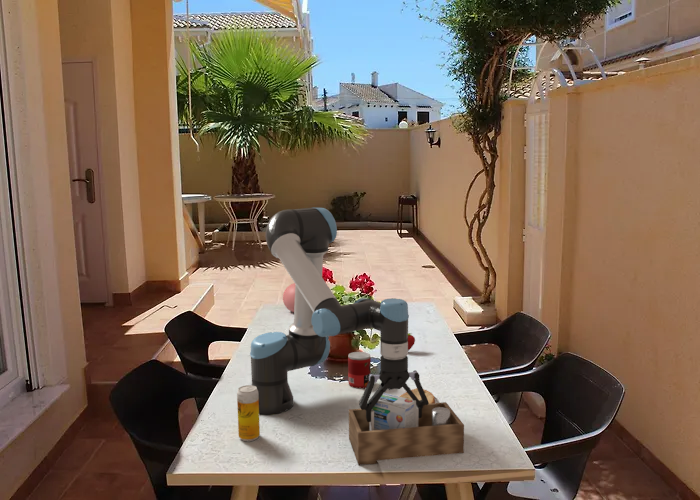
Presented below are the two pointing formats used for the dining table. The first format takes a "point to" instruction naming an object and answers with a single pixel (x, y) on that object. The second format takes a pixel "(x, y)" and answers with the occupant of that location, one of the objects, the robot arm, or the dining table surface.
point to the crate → (405, 437)
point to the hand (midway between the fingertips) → (393, 430)
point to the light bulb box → (394, 412)
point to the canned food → (359, 369)
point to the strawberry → (410, 341)
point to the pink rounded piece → (289, 297)
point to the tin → (440, 416)
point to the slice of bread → (428, 394)
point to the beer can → (248, 413)
